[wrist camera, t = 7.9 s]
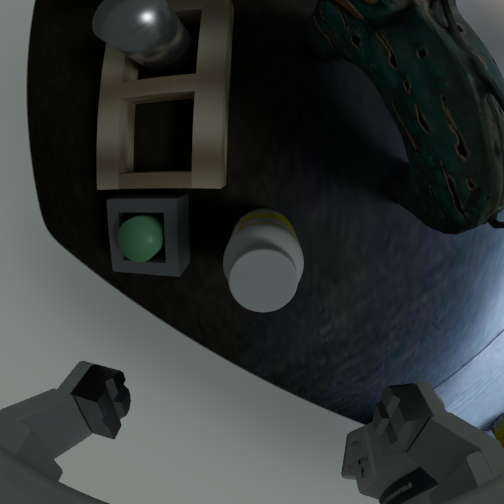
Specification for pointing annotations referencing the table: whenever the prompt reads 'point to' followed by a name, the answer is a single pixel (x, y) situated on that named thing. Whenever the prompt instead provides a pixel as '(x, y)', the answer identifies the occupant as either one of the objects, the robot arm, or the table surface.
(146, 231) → the button
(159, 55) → the seated billet
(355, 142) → the table surface
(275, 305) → the supplement bottle
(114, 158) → the rack
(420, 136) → the green curved lump
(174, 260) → the button box
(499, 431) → the supplement bottle
